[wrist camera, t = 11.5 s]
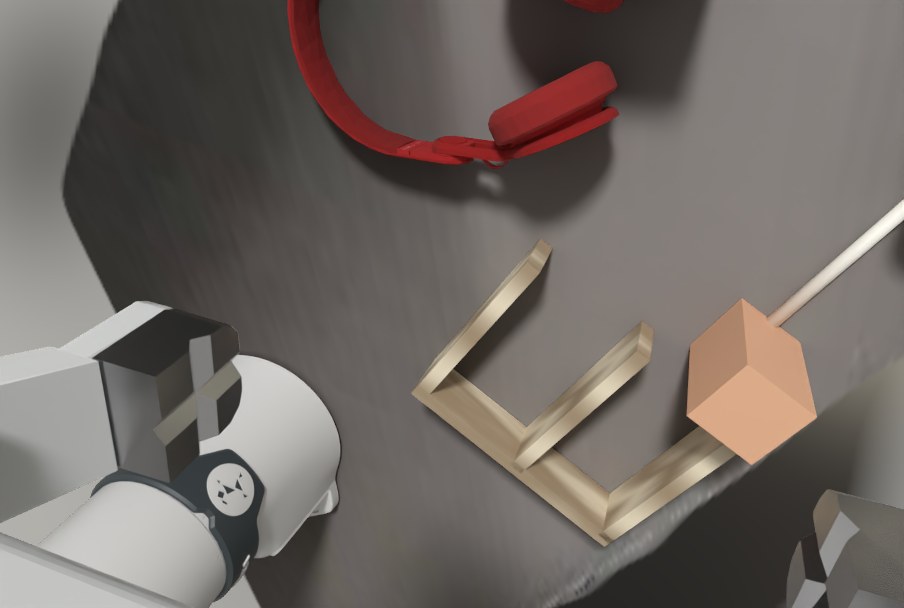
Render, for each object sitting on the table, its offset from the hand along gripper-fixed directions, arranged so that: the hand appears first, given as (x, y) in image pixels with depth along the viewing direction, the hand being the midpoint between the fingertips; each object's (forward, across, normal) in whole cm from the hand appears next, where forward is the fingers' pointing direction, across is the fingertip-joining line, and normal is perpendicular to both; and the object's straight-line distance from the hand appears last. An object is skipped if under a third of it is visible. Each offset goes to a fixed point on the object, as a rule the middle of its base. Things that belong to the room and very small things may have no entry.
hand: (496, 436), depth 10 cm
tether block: (+34, -12, +9) cm, 37 cm away
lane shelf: (+34, 0, +21) cm, 40 cm away
